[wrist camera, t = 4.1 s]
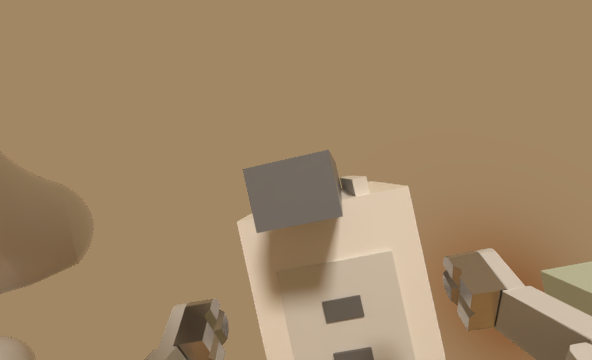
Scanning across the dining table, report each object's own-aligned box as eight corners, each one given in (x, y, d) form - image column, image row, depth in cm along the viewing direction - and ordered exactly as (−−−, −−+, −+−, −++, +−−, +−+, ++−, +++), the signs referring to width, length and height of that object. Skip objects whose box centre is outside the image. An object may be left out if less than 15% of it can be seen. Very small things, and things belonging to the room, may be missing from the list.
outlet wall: (510, 646, 20) (406, 168, 20) (330, 662, 21) (231, 205, 21) (430, 449, 34) (370, 170, 34) (326, 463, 35) (267, 193, 35)
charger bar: (343, 216, 13) (328, 149, 13) (256, 233, 14) (242, 169, 14) (341, 188, 33) (335, 161, 33) (305, 196, 34) (299, 169, 34)
